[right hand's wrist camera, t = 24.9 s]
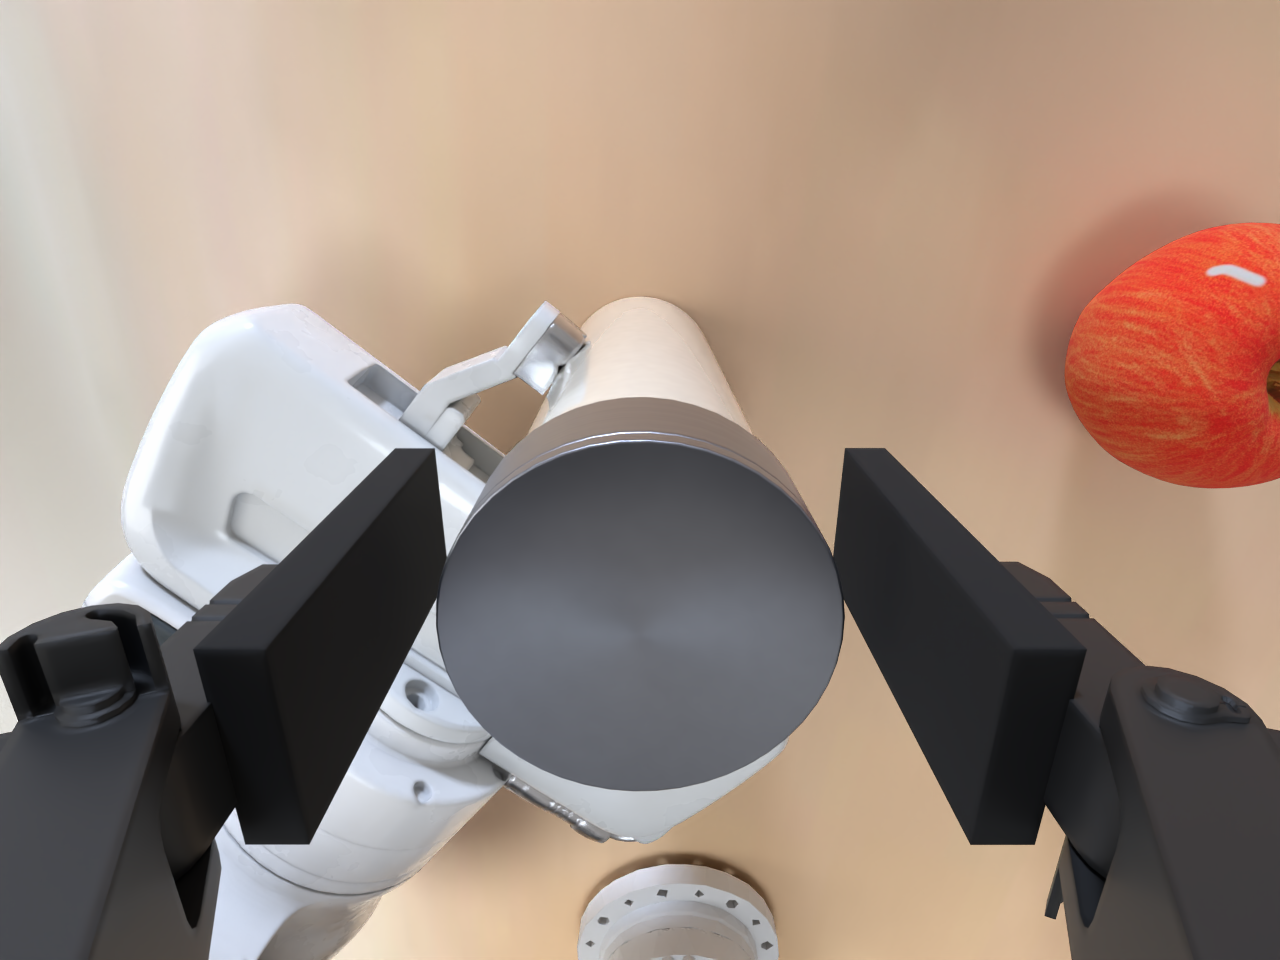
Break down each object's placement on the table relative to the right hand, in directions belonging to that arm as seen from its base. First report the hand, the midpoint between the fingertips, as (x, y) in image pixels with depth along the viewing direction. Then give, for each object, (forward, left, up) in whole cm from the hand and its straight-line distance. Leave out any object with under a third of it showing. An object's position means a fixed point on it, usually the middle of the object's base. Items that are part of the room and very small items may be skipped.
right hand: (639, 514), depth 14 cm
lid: (0, 0, +4) cm, 4 cm away
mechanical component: (-17, +23, -13) cm, 32 cm away
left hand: (0, -1, -6) cm, 6 cm away
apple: (-14, -11, -13) cm, 22 cm away
